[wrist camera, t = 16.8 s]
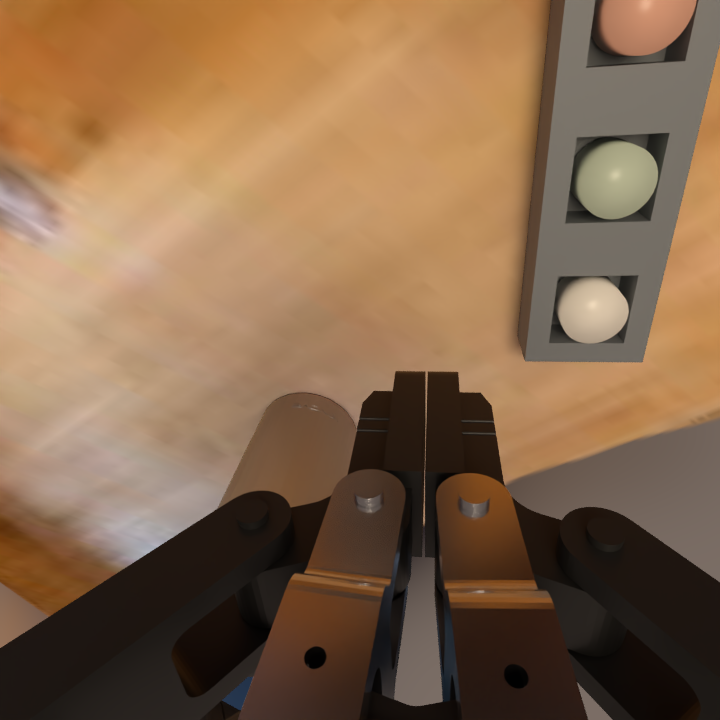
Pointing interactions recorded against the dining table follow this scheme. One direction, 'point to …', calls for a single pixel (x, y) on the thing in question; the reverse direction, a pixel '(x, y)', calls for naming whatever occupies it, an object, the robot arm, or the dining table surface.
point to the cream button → (590, 308)
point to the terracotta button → (639, 25)
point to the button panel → (592, 122)
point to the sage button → (613, 177)
